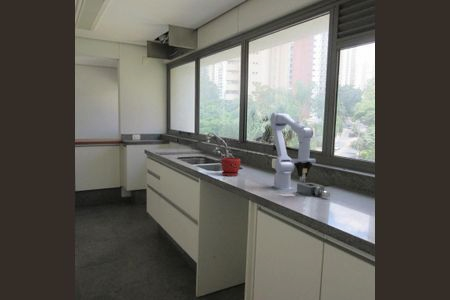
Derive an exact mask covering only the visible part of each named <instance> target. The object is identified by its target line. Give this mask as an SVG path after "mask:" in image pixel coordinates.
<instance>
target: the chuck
mask: <svg viewBox="0 0 450 300" xmlns="http://www.w3.org/2000/svg"><path fill="white" fill-rule="evenodd" d="M296 185H297V186H296V193H297V194H298V193H299V194H301V193H302V194H301V195H304V194H305V195H304V196H307V197H314V196H315V197H322V196H323V197H326V198H330V196H331V193H330V191H329V192H328V191H326V190H325V185H322V184H319V183H314V182H302V183H300V182H299V183H297V184H296Z"/></svg>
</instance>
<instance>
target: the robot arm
mask: <svg viewBox="0 0 450 300" xmlns="http://www.w3.org/2000/svg"><path fill="white" fill-rule="evenodd" d="M269 122H270V126H271V129H272V133H273V139H274V143H275V148H276V153H277V158H276V159H275V160H274V164H275V165H274V169H275V171H276V172H275V174H274V178H273V185H272V188H273V187H274V188H277V189H279V190H293V189H294V187H291V178H292V177H291V174H292V173H293V172H294V170H295V168H296V170H297V171H296V172H297V177H299V178H300V177H302V172H303V168H307V173H306V176H305V178H307V177H308V176H309V171H310V169H311V167H312V166H313V164H315V163H317V162H316V161H317V160H316V158H310V154H311V153H310V152H311V139H312V138H313V137H314V130H313V129H312V127H306V125H305V124H302V123H301V121H300V120H299V121H298V120H294V119H293V118H292V117H291V116H290V114H289V113H281V112H280V113H279V112H278V113H277V112H273V113H271V115H270V117H269ZM286 126H289V127H290V129H291V131H292V132H293V133H295V134H296V135H297V141H298V153H297V154H298V155H297V158H291V157H290V156H288V152H287V147H286V142H285V139H284V135H283V134H284V133H283V130H284V129H286Z"/></svg>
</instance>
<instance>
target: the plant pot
mask: <svg viewBox="0 0 450 300" xmlns="http://www.w3.org/2000/svg"><path fill="white" fill-rule="evenodd" d="M240 167H241V159H240V158H238V157H222V158H221V169H222V172H221V174H222V175H223V176H225V175H227V176H226V177H236V176H238V175H239V171H240Z"/></svg>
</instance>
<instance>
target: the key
mask: <svg viewBox="0 0 450 300" xmlns="http://www.w3.org/2000/svg"><path fill="white" fill-rule="evenodd" d="M306 173H307V168H303V172H302V177H299V183H300V182H302V183H306Z"/></svg>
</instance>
